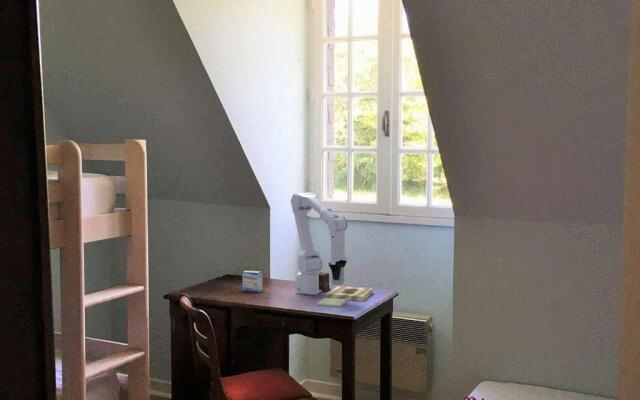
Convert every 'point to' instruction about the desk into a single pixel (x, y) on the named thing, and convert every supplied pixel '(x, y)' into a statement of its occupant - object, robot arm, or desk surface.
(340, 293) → the pocket board
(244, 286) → the medicine box
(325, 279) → the box
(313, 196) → the robot arm
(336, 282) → the slate block
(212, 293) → the desk surface
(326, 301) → the tile
